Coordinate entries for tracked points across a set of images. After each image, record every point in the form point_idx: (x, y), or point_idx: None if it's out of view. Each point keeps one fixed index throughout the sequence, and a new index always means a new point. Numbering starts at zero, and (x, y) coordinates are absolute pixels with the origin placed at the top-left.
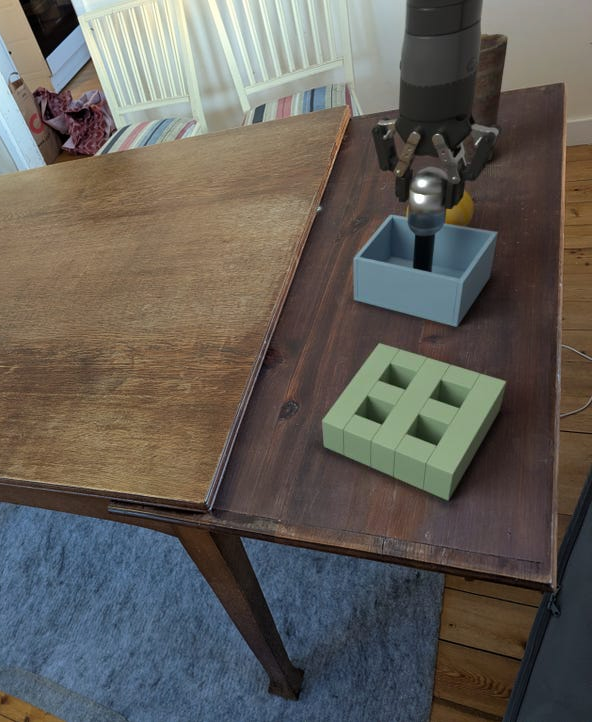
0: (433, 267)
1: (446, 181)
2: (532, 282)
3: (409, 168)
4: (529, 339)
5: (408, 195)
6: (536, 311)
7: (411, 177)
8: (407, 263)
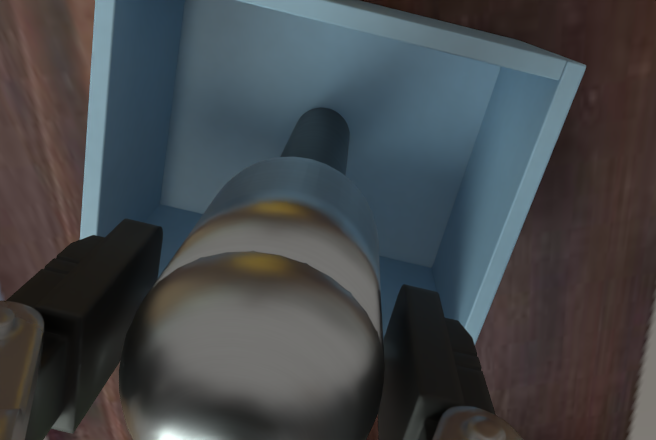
0: (343, 28)
1: (368, 431)
2: (644, 49)
3: (50, 372)
4: (607, 291)
5: (152, 271)
6: (637, 185)
7: (107, 300)
8: (255, 15)
